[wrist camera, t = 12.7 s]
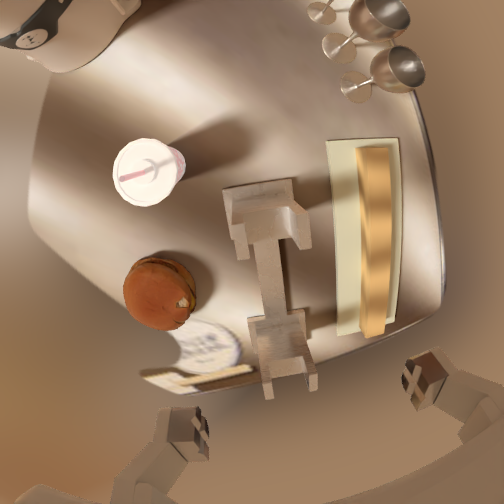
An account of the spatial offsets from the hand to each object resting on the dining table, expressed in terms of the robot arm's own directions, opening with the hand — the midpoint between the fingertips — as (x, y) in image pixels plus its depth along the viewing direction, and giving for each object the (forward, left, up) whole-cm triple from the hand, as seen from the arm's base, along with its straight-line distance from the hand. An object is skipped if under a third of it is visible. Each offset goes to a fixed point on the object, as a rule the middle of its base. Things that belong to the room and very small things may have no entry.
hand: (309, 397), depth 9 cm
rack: (+8, +1, -26) cm, 27 cm away
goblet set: (-27, +13, -27) cm, 40 cm away
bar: (+6, +15, -26) cm, 30 cm away
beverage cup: (-8, -9, -27) cm, 29 cm away
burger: (+7, -14, -27) cm, 31 cm away
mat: (+6, +15, -26) cm, 31 cm away
